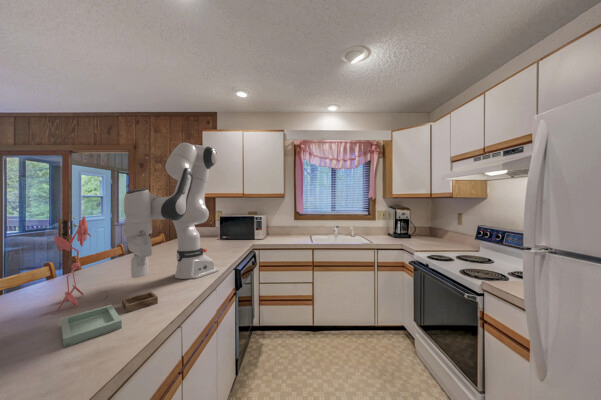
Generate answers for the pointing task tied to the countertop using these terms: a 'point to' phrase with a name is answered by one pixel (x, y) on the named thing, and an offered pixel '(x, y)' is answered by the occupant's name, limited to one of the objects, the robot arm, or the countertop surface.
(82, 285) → the countertop surface
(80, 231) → the red leafy plant shape
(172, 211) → the robot arm
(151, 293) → the walnut rectangular frame
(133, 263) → the eye dropper bottle
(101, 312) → the tray
